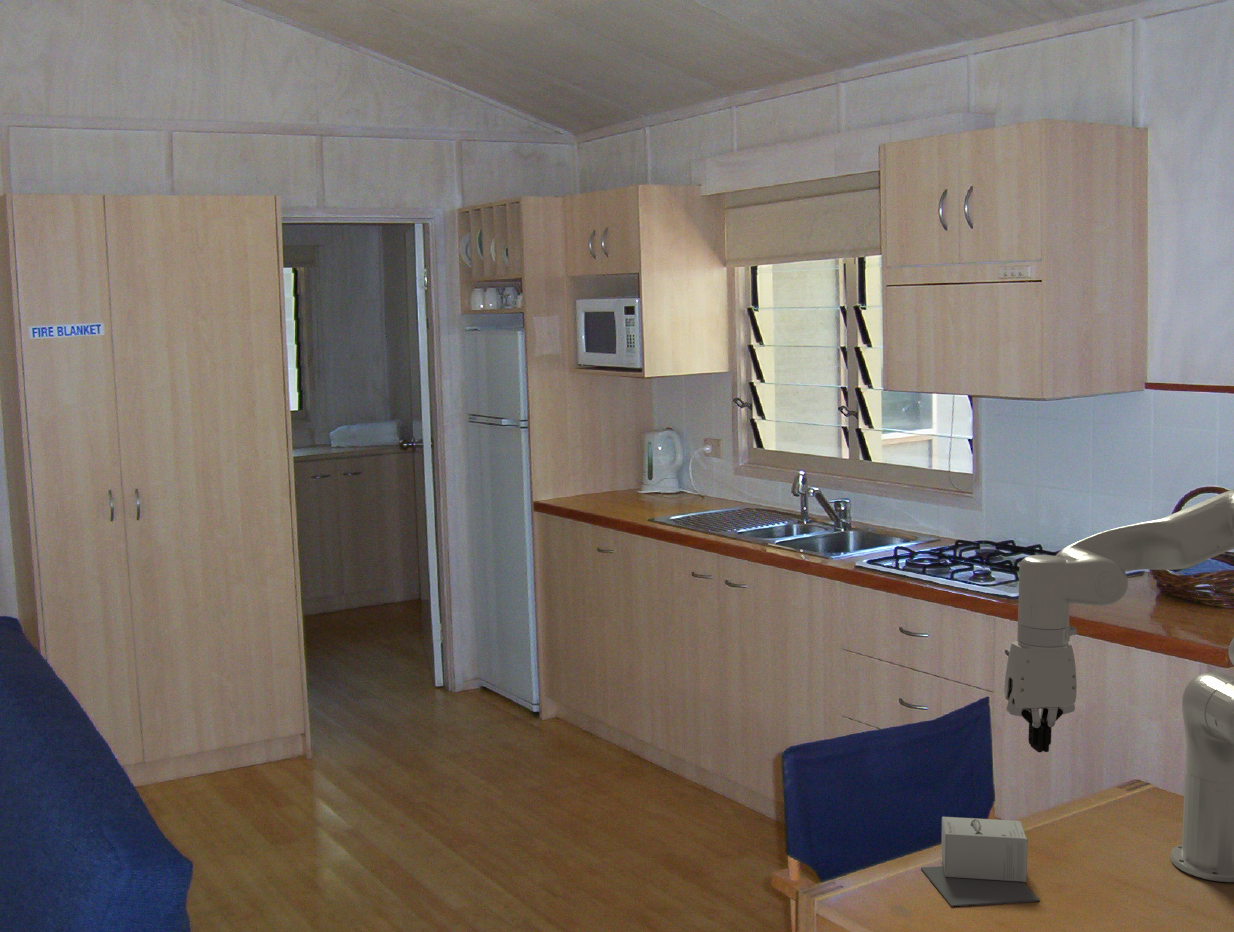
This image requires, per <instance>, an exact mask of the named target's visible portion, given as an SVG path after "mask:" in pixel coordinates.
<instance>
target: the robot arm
mask: <svg viewBox="0 0 1234 932" xmlns="http://www.w3.org/2000/svg"><path fill="white" fill-rule="evenodd" d="M1231 550H1234V489H1230V490H1227V491H1225V492H1222V493H1219V494H1218V495H1214V496H1213V497H1209V498H1208V499H1204V500H1202V501H1201V502H1198V503H1196V504H1193V505H1191V506H1189V507H1187V508H1183V509H1182V510H1179V511H1177V512H1175V513H1171V514H1169V515H1167V516H1164V517H1161V518H1157V519H1153V520H1148V521H1143V522H1138V523H1134V524H1130V525H1129V524H1128V525H1126V526H1120V527H1116V528H1112V529H1108V530H1105V531H1101V532H1098V533H1095V534H1093V535H1091V536H1087V537H1086V538H1083V539H1081V540H1077V541H1076V542H1074V543H1072V544H1068V545H1067V546H1065V547H1064V548H1062V549H1061V550H1059V551H1058V552H1057V553H1056V555H1049V554H1048V555H1047V554H1033V555H1028V556H1024V558H1023V559H1022V560H1021V561H1020V564H1019V568H1018V571H1019V572H1018V573H1019V574H1018V607H1017V609H1018V610H1017V611H1018V612H1017V640H1014V641H1012V642H1011V644H1010V649H1009V652H1008V657H1007V663H1006V669H1005V677H1004V690H1003V695H1004V699H1005V700H1006V701H1008V702H1007V705H1006V709H1005V710H1006V712H1007V713H1008V714H1010V715H1011V716H1016V717H1022V718H1023V719H1024V720H1025V721H1026V722H1027V723H1028V740H1027V741H1028V744H1029V745H1030V747H1031V749H1033V750H1035V752H1037V753H1042V752H1044V753H1049V751H1050V745H1051V744H1052V728H1054V727H1055V725H1056V721H1058V720H1059V719H1060V718H1061V716H1063V715H1067V714H1070V713H1073V712H1075V711H1076V707H1075V703H1076V701H1077V700H1076V699H1077V669H1076V659H1075V654H1074V649H1073V645H1072V644H1071V643H1070V638H1071V637H1072V636H1076V635H1077V628H1076V626H1071V625H1070V607H1071V605H1072V604H1074V605H1085V606H1093V607H1105V606H1106V607H1107V606H1110V605H1113V604H1115V603H1117V602H1119V601H1120V600H1121V599H1122V598H1124V596H1125V595H1126V593H1127V591H1128V587H1129V578H1128V575H1127V573H1126V572H1131V571H1141V570H1154V571H1155V570H1157V571H1173V570H1175V571H1176V570H1184V569H1189V568H1192V567H1194V566H1196V565H1199V564H1200V563H1203V562H1205V561H1208V560H1209V559H1212V558H1214V557H1217V556H1220V555H1221V554H1223V553H1226V552H1229V551H1231ZM1228 657H1229V660H1230V663H1232V665H1233V666H1234V637H1233V638H1232V640H1231V641H1230V643H1229V646H1228ZM1040 709H1041V711H1040ZM1181 712H1182V720H1183V726H1184V734H1185V766H1184V768H1185V769H1184V770H1185V771H1184V790H1183V812H1182V814H1183V815H1182V830H1181V831H1182V833H1181V835H1182V836H1181V844H1178V845H1176V846H1174V847H1173V848H1172V849H1171V851H1170V860H1171V862H1172V864H1173V866H1175V867H1176V868H1178V869H1179V870H1181V871H1182V872H1184V873H1186V874H1188V875H1191V876H1194V877H1196V878H1201V879H1204V880H1208V881H1213V882H1220V883H1234V677H1233V676H1231V675H1228V674H1227V673H1221V672H1216V671H1213V672H1212V671H1211V672H1205V673H1201V674H1198V675H1196V676H1195V677H1194V678H1192V679H1190V681H1189V682H1188V683H1187V685H1186V687H1185V688H1184V691H1183V694H1182V699H1181Z"/></svg>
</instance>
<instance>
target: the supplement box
mask: <svg viewBox="0 0 1234 932" xmlns="http://www.w3.org/2000/svg"><path fill="white" fill-rule="evenodd" d="M1028 841H1029V839H1028V838H1027V837H1026V834H1025V831H1024V827H1023V823H1022V822H1021V821H1020V820H1009V819H1008V820H1006V819H994V818H993V819H992V818H990V819H989V818H977V817H976V818H974V817H954V816H941V860H942V866H943V867H944V873H945V877H956V878H971V879H986V880H1002V881H1017V882H1024V883H1027V879H1028V853H1029V852H1028V851H1029V850H1028V848H1029V842H1028Z"/></svg>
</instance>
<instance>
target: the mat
mask: <svg viewBox="0 0 1234 932" xmlns="http://www.w3.org/2000/svg"><path fill="white" fill-rule="evenodd" d="M920 869H921V871H922V872H923V874H924V875H925V876H926V878H928V880H929V881H930V882H931V884H932V885H933V884H934V885H933V886H934V888H935V889H936V890H937V891H938V892H939V894H940V895H941V896H942V897H943V899H944V900H945V901H946V903H947V904H948V905H949V906H950V907H951V908H957V907H956V906H960V907H972V906H973V905H976V906H986V905H987V906H989V905H1004V903H1005V905H1006V903H1007V904H1023V903H1037V902H1036V901H1039V902H1041V899H1040V898H1039V897H1038V896H1037V895H1036V894H1035V893H1034V892H1033V891H1032V890H1031V888H1029V886H1028V885H1026V882H1017V881H1002V880H986V879H971V878H956V877H945V873H944V867H943V865H941V866H940V865H939V866H927V867H925V866H922V867H921V868H920ZM1034 901H1035V902H1034ZM969 905H970V906H969ZM971 905H972V906H971ZM954 906H955V907H954Z"/></svg>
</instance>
